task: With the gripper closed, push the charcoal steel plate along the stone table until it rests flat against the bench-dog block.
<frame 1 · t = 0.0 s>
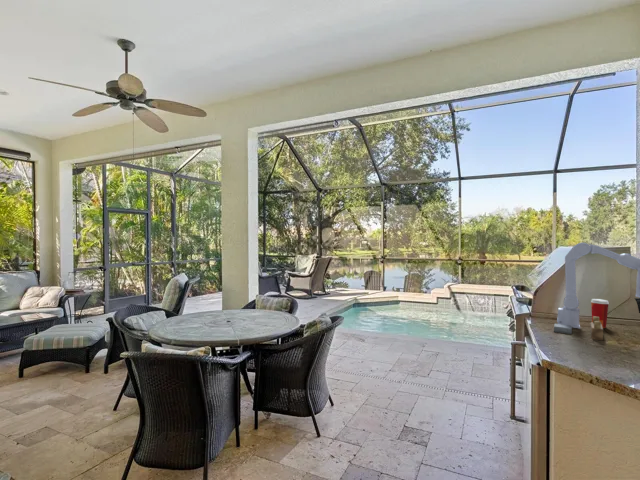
paper cup: (598, 327, 182), on the worktop
bench dog block: (596, 336, 165), on the worktop
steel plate: (562, 332, 173), on the worktop
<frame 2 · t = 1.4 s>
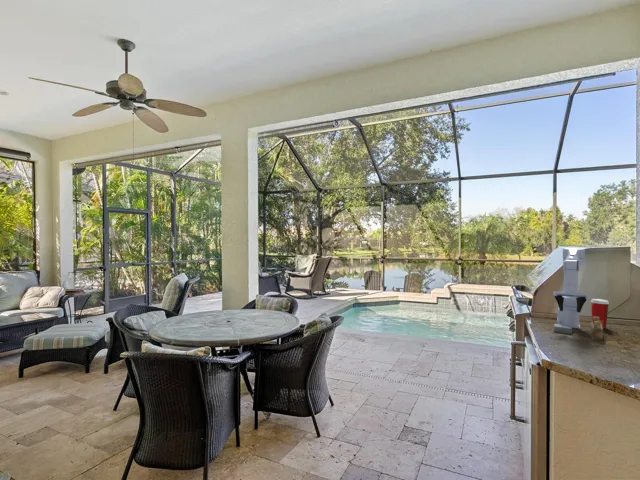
hand: (569, 311, 173), 10 cm above the worktop, tool pointing down, fingers open, 7 cm apart
nothing on the worktop moved.
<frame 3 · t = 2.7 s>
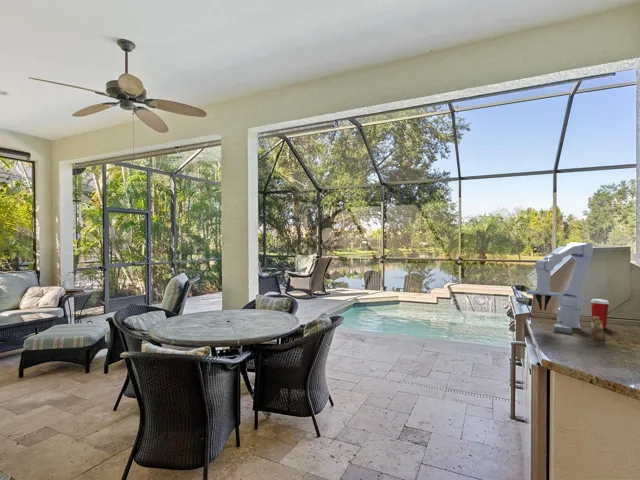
hand: (542, 309, 177), 9 cm above the worktop, tool pointing down, fingers closed
nothing on the worktop moved.
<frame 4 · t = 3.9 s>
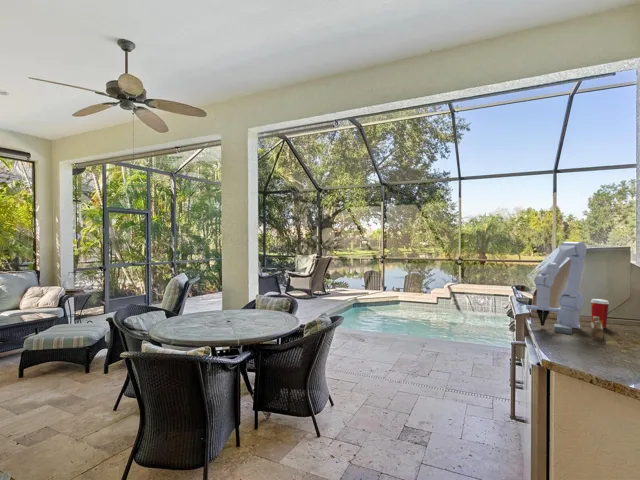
hand: (542, 325, 178), 2 cm above the worktop, tool pointing down, fingers closed
nothing on the worktop moved.
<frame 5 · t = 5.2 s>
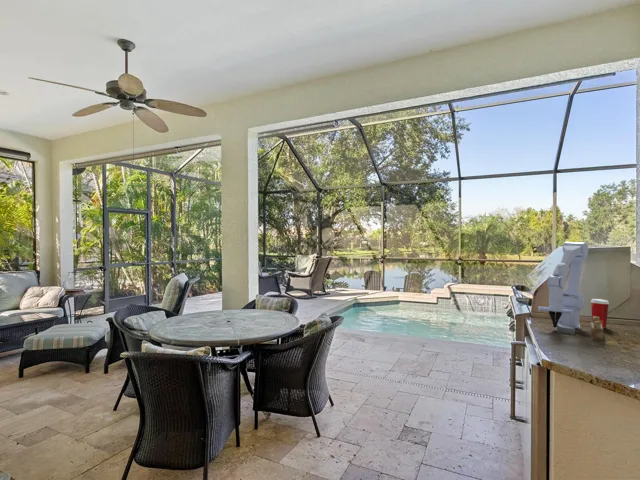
hand: (555, 326, 174), 2 cm above the worktop, tool pointing down, fingers closed
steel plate: (565, 332, 172), on the worktop, touching gripper
everything else where it was.
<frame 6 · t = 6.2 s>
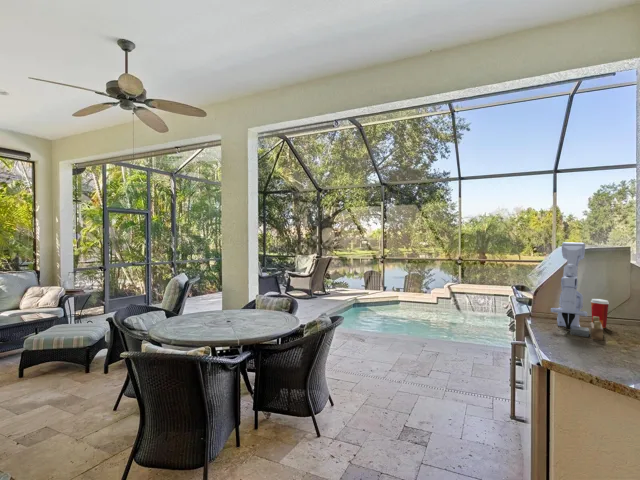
hand: (568, 328, 171), 2 cm above the worktop, tool pointing down, fingers closed
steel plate: (579, 334, 168), on the worktop, touching gripper
everything else where it was.
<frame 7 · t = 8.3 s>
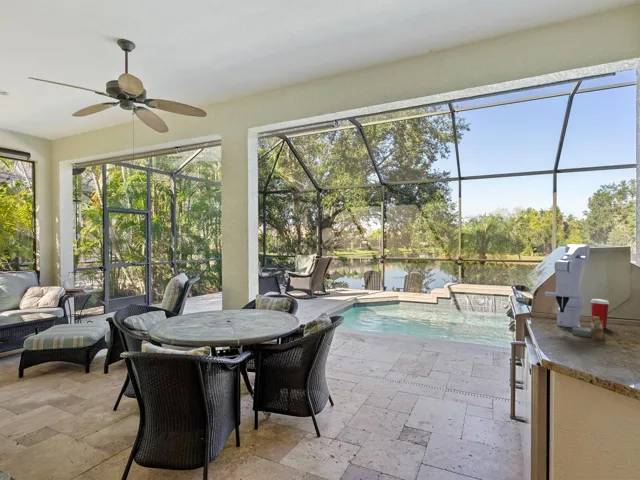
hand: (562, 312, 173), 9 cm above the worktop, tool pointing down, fingers closed
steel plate: (581, 335, 168), on the worktop
everything else where it was.
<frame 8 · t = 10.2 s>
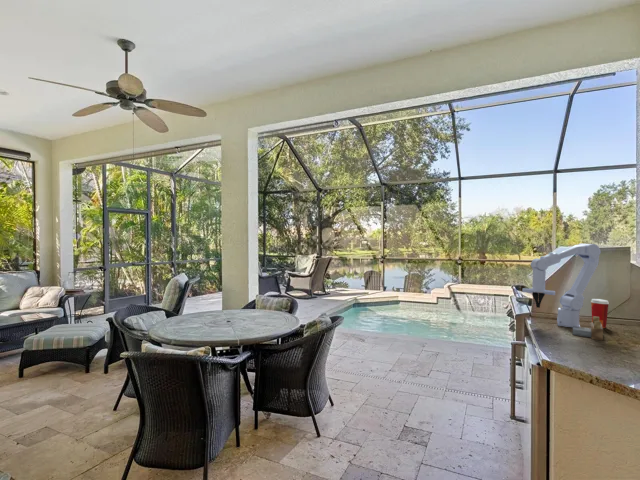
hand: (538, 307, 184), 9 cm above the worktop, tool pointing down, fingers closed
nothing on the worktop moved.
at the end: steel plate 0.6 cm from the target spot, on the worktop; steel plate tilted 0°; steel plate moved 7.5 cm from its start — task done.
